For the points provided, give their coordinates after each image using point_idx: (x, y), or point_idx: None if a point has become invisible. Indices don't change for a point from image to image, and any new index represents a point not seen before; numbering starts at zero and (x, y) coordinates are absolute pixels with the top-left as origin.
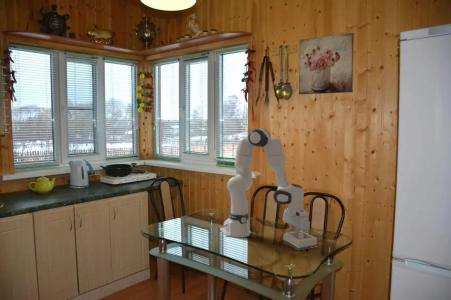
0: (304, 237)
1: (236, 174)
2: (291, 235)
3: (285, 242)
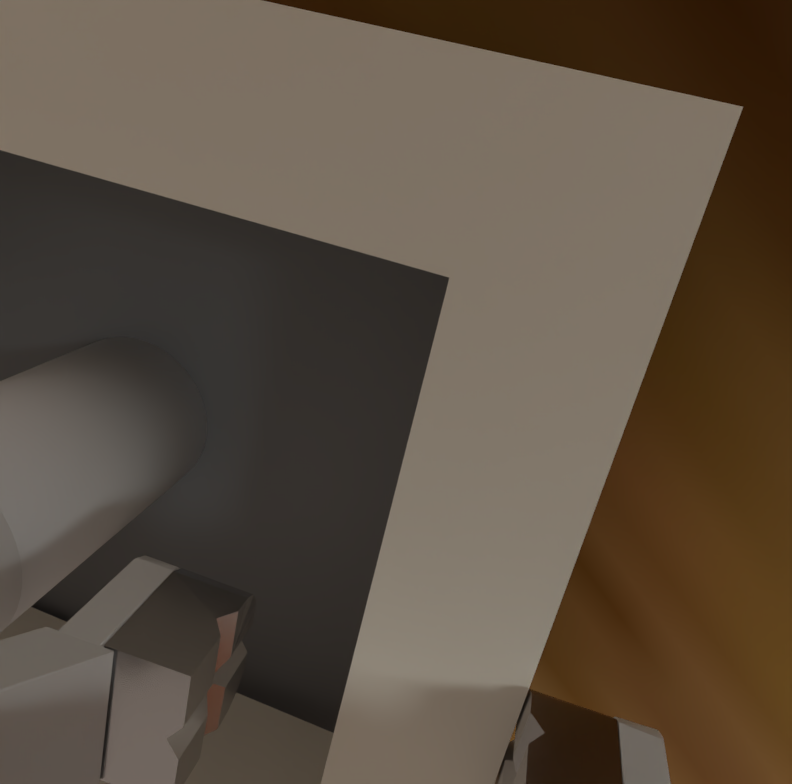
0: None
1: None
2: (170, 185)
3: None
